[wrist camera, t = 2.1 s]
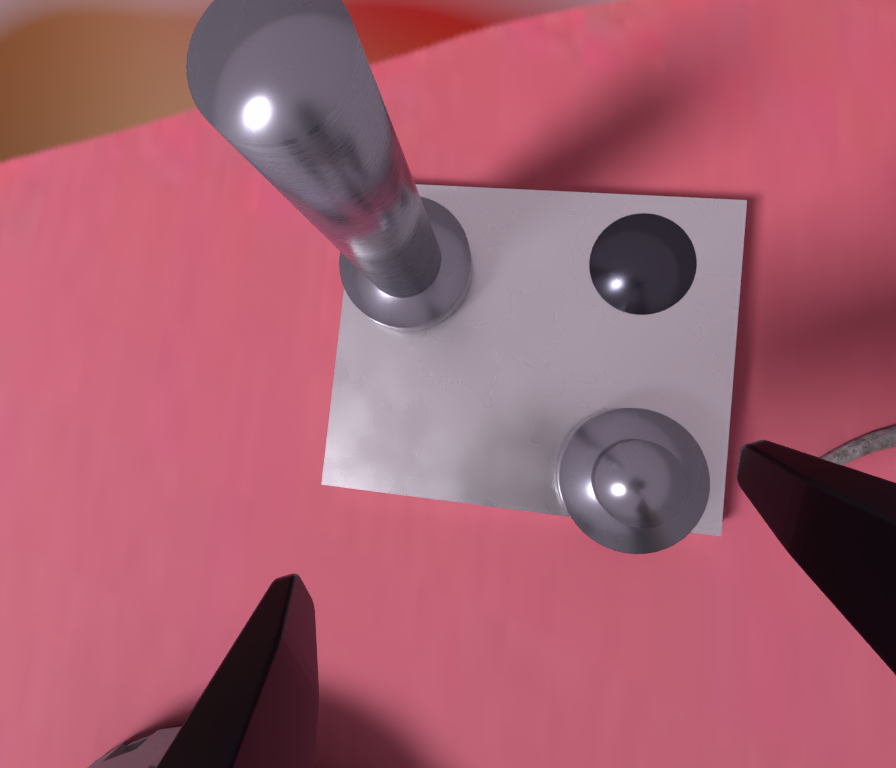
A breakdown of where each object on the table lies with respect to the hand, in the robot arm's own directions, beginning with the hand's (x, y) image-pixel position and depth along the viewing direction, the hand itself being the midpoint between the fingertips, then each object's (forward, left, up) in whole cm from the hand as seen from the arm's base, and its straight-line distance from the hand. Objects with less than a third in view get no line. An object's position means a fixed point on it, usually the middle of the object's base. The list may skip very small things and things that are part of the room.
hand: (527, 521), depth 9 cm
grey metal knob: (0, -5, -11) cm, 12 cm away
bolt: (+8, +5, -11) cm, 15 cm away
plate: (+5, 0, -12) cm, 13 cm away
